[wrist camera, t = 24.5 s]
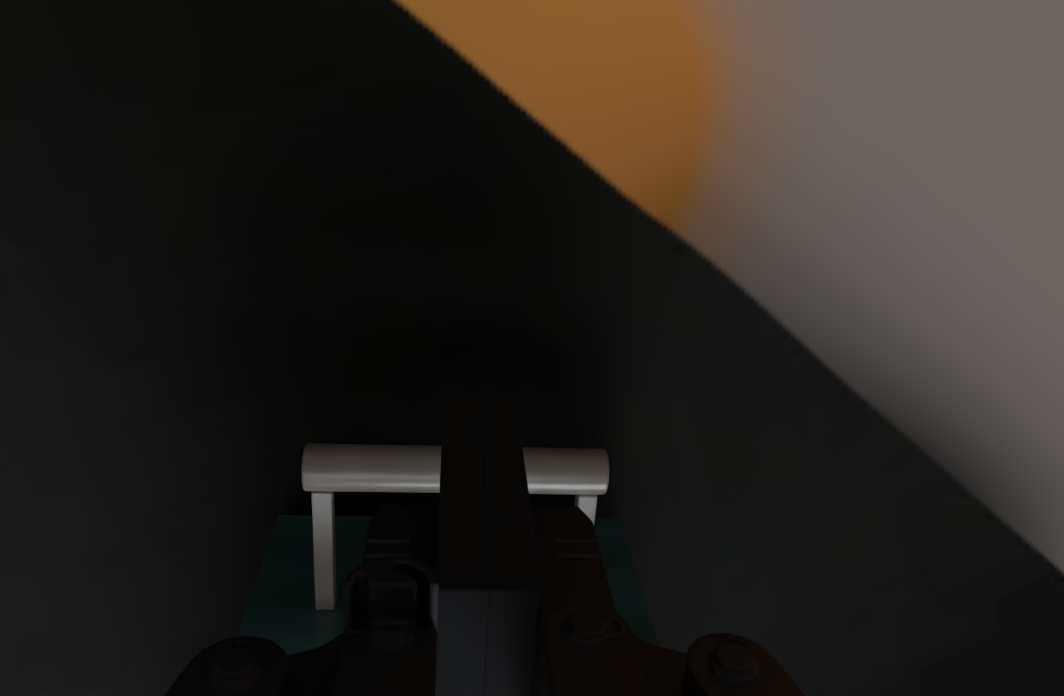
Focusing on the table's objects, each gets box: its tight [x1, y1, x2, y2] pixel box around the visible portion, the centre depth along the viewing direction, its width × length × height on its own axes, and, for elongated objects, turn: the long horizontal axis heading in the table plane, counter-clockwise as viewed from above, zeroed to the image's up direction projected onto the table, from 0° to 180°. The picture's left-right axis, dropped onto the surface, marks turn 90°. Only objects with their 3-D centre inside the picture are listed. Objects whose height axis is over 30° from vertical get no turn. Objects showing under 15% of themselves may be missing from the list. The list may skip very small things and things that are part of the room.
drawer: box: [237, 443, 660, 656], centre depth 30 cm, size 20×13×8 cm, turn 176°
